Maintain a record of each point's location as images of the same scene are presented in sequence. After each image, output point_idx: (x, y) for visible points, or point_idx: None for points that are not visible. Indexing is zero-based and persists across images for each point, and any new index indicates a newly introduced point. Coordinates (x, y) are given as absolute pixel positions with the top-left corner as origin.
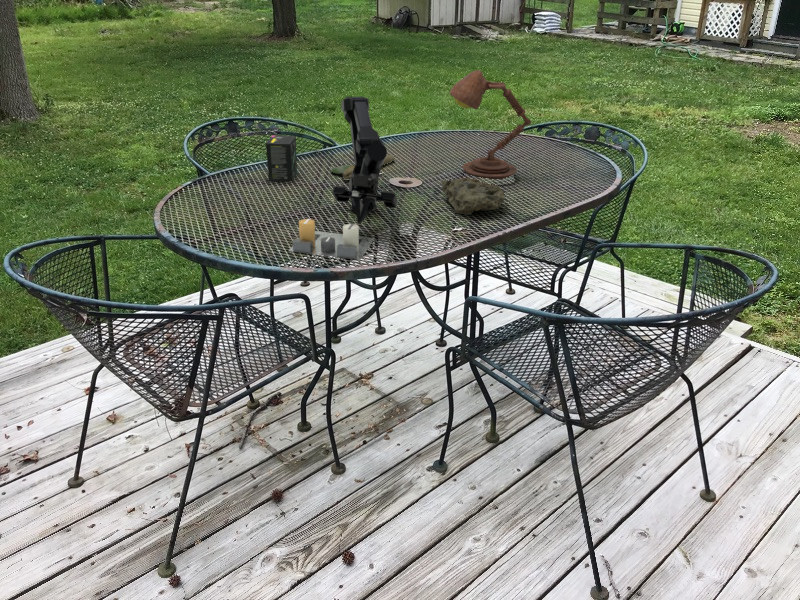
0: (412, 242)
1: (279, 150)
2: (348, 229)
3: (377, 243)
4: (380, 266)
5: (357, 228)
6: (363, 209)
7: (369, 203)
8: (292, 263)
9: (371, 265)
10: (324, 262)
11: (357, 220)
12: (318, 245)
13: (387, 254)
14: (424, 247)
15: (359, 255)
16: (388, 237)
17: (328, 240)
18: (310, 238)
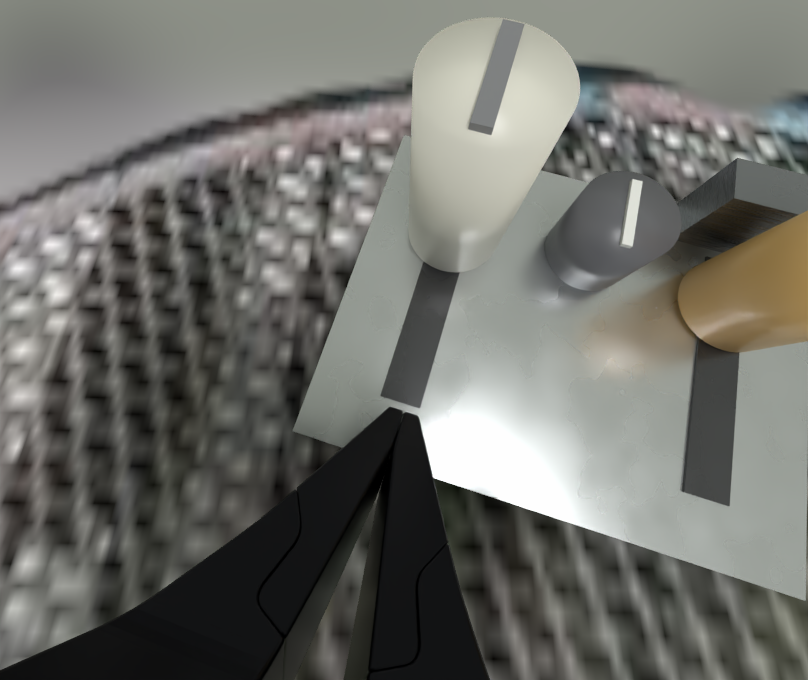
0: (60, 414)
1: None
2: (515, 23)
3: (287, 401)
4: (308, 126)
5: (425, 45)
6: (310, 532)
7: (56, 645)
8: (726, 160)
9: (350, 135)
10: (575, 167)
11: (419, 425)
12: (655, 309)
13: (253, 248)
14: (15, 336)
15: (405, 177)
16: (197, 506)
17: (623, 204)
18: (762, 233)
